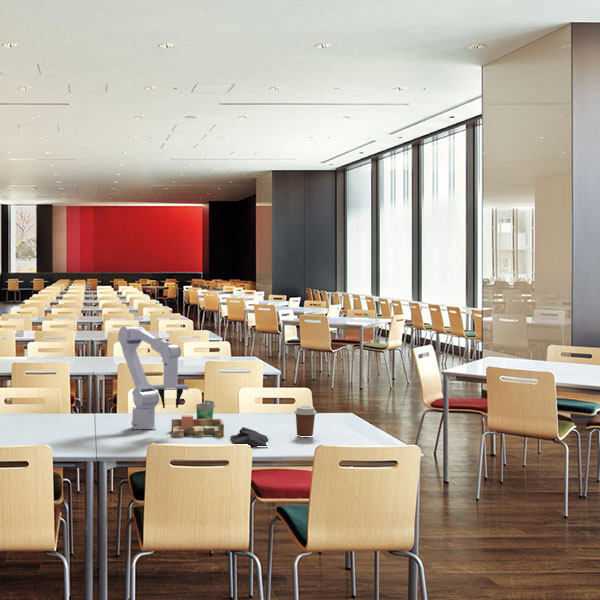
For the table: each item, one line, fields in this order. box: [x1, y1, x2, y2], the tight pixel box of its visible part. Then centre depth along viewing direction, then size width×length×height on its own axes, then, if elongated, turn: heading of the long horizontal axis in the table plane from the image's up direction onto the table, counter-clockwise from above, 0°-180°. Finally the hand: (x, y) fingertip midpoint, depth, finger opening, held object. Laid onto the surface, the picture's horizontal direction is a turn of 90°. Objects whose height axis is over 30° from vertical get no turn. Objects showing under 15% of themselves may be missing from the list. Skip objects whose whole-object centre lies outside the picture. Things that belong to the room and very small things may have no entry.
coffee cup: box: [293, 405, 317, 436], centre depth 341 cm, size 9×9×12 cm
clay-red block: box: [181, 414, 194, 428], centre depth 343 cm, size 4×4×4 cm
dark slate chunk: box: [230, 426, 269, 448], centre depth 326 cm, size 15×22×5 cm
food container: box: [195, 399, 216, 419], centre depth 361 cm, size 12×6×10 cm, turn 168°
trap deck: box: [170, 418, 225, 438], centre depth 341 cm, size 20×13×5 cm, turn 100°
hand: (170, 407), depth 341 cm, fingers open, 5 cm apart
